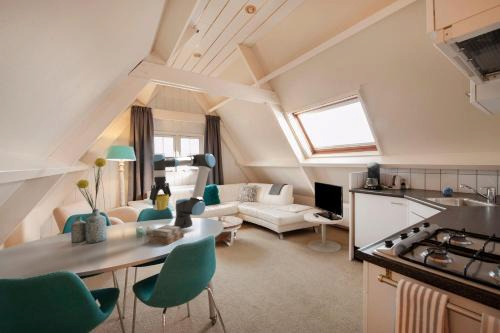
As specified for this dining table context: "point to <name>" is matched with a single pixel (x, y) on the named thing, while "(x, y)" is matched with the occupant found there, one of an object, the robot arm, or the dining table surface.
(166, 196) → the plant pot
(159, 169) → the robot arm
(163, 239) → the tower plinth
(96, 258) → the dining table surface
